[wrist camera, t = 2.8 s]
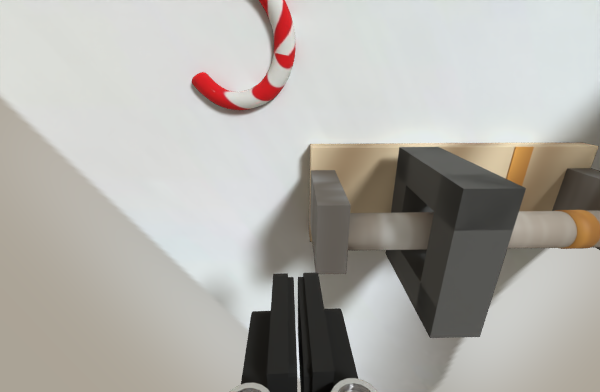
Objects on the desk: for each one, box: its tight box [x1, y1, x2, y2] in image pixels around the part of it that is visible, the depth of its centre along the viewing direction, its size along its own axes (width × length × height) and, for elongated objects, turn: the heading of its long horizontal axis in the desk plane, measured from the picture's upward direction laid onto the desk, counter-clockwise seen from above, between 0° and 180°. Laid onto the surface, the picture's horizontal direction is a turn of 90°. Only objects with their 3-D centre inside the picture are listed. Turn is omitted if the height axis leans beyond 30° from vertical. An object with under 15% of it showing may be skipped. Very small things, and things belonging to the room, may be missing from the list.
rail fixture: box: [309, 143, 600, 274], centre depth 18 cm, size 19×7×7 cm, turn 90°
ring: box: [386, 147, 526, 338], centre depth 16 cm, size 2×8×7 cm, turn 0°
